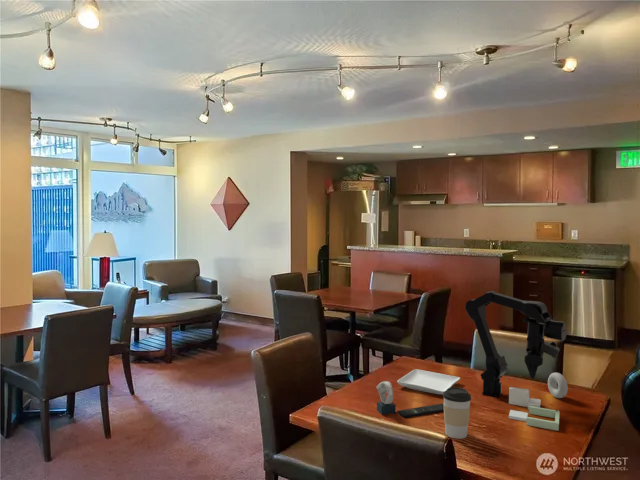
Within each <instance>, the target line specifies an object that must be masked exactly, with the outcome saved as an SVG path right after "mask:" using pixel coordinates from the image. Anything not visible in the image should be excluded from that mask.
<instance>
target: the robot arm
mask: <svg viewBox="0 0 640 480" xmlns="http://www.w3.org/2000/svg"><path fill="white" fill-rule="evenodd" d="M491 303H493V304H497V305H501V306H503V307H507V308H510V309H513V310H516V311H519V312H520V313H522V314H523V315H525V316H526V317H525V318H524V319H522V322H523V323H527V333H526V334H527V335H526V348H525V349H526V350H525V351H526V353H525V354H524V363H525V365H526V369H527V370H528V374H529V376H530V379H531V380H532V379H533V380H534V379H535V378H536V375H537V370H538V368H539V367H540V366H542V365H543V364H544V363H543V362H544V356H543V355H544V354H547V355H549V356H550V357H552V358H554V359H557V357H558V355H559V352H560V347H559V346H557V342H555V341H553V340H552V341H550V342H546V341H545V338H544V336H546V338H549V339H554V340H558V341H563V342H564V341H565V340H566V338H567V334H568V333H567V332H568V330H567V326H566V322H565V321H562V320H561V321H558V320H553V318H552V317H553V316H551V314H550V313H549V311H548V307H547V306H546V303H544V302H542V301H535V300H522V299H521V298H516V297H513V296H509V295H506V294H502V293H499V292H497V291H493V290H492V291H488V292H486V293H485V294H483V295H481V296H478V297H477V298H474V299H469V300H467V302H466V303H465V305H464V309H465V311H466V313H467V315H468V317H469V318H470V319H471V320H472V321H473V323H474V325H475V329H476V331H477V334H478V337H479V340H480V343H481V345H482V349H483V350H484V351H483V352H484V354H485V368H486V369H485V370H484V371H483V372H482V373H480V378H481V380H483V381H482V382H483V383H482V392H481V393H482V394H481V395H484V396H490V397H496V398H497V397H498V398H499V397H500V396H501V394H502V393H503V392H502V389H503V388H502V387H503V383H502V382H501V378H503V375H505V374H506V373H507V371H508V366H509V365H508V363H507V362H506V357H505V355H502V356H501V355H500V354H499V352H498V350H497V348H496V345H495V342H494V338H493V336H492V333H491V331H490V327H489V325H488V322H487V309H486V307H487V306H489V305H491Z"/></svg>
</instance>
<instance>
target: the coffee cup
mask: <svg viewBox="0 0 640 480" xmlns="http://www.w3.org/2000/svg"><path fill="white" fill-rule="evenodd" d="M442 398H443V406H444V412H443V419H444V428H445V429H444V431H445V435H446V436H447V435H448V436H447V437H449V438H452V439H458V440H461V439H465V438H467V436H468V429H469V423H470V412H471V400H472V395H471V393H469V391H468V390H467V389H466V388H461V387H454V386H452V387H451V388H448V389H447V390H446V391H444V392H443V394H442Z"/></svg>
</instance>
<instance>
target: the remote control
mask: <svg viewBox="0 0 640 480" xmlns="http://www.w3.org/2000/svg"><path fill="white" fill-rule="evenodd" d="M443 403H444V402H443ZM443 403H438V404H430V405H425V406H424V405H423V406H419V407H411V408H406V409H399V410H396V413H397V414H398V415H399V416H401V417H402V418H404V419H408V418H412V417H419V416H420V417H421V416H424V415H432V414H439V413H444V406H443Z"/></svg>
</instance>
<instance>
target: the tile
mask: <svg viewBox="0 0 640 480" xmlns="http://www.w3.org/2000/svg"><path fill="white" fill-rule="evenodd" d="M527 417H529V412H525V411H520V410H519V411H518V410H514V409H510V410H509V414H508V419H511V420H515V421H521V422H527Z"/></svg>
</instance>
